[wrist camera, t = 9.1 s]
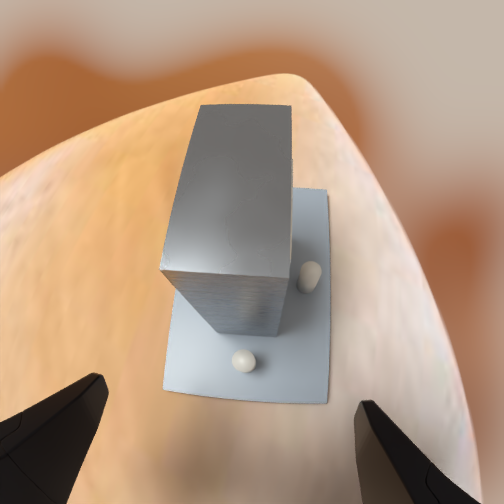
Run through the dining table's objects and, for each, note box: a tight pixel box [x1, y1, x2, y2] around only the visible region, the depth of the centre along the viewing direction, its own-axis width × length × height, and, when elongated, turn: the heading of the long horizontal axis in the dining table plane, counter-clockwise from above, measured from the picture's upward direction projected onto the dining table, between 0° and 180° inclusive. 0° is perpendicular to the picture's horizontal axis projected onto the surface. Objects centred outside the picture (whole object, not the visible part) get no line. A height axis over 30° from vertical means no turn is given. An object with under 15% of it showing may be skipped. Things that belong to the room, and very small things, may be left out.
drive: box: [159, 104, 293, 337], centre depth 15 cm, size 7×4×11 cm, turn 175°
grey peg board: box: [163, 188, 330, 403], centre depth 19 cm, size 15×10×3 cm, turn 176°
